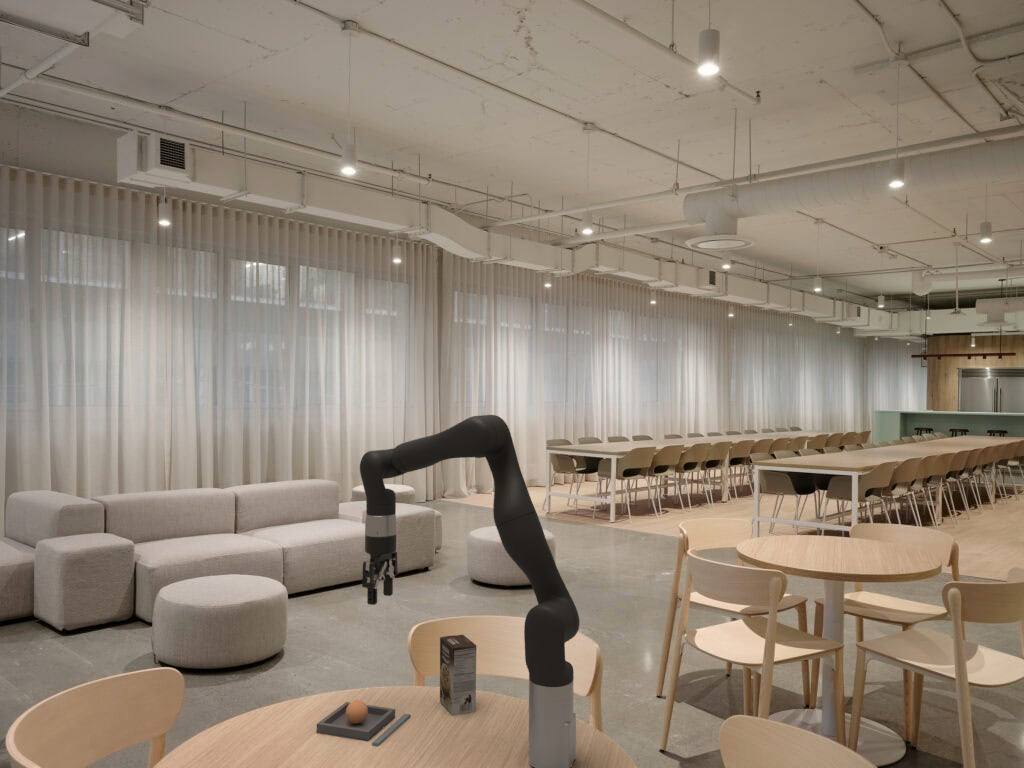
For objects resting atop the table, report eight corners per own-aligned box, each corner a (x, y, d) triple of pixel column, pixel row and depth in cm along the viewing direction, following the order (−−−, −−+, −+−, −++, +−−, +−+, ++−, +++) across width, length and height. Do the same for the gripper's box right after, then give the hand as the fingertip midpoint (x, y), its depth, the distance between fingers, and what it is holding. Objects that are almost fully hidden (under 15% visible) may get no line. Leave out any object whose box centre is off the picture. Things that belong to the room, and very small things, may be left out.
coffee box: (438, 702, 191) (439, 636, 191) (462, 697, 193) (463, 633, 194) (451, 716, 182) (451, 647, 183) (476, 711, 185) (477, 644, 185)
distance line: (410, 716, 182) (410, 714, 182) (378, 746, 167) (378, 743, 167) (404, 715, 182) (404, 713, 182) (372, 745, 167) (372, 742, 167)
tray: (395, 717, 181) (395, 709, 181) (368, 741, 169) (368, 732, 169) (346, 710, 185) (346, 701, 185) (316, 732, 173) (316, 723, 173)
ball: (371, 720, 179) (371, 698, 179) (361, 728, 174) (361, 706, 174) (352, 717, 180) (352, 695, 180) (341, 725, 176) (341, 703, 176)
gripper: (381, 538, 179) (381, 609, 179) (407, 528, 192) (406, 593, 192) (352, 536, 181) (352, 606, 181) (379, 526, 194) (379, 591, 194)
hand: (380, 599), depth 186 cm, fingers open, 8 cm apart
